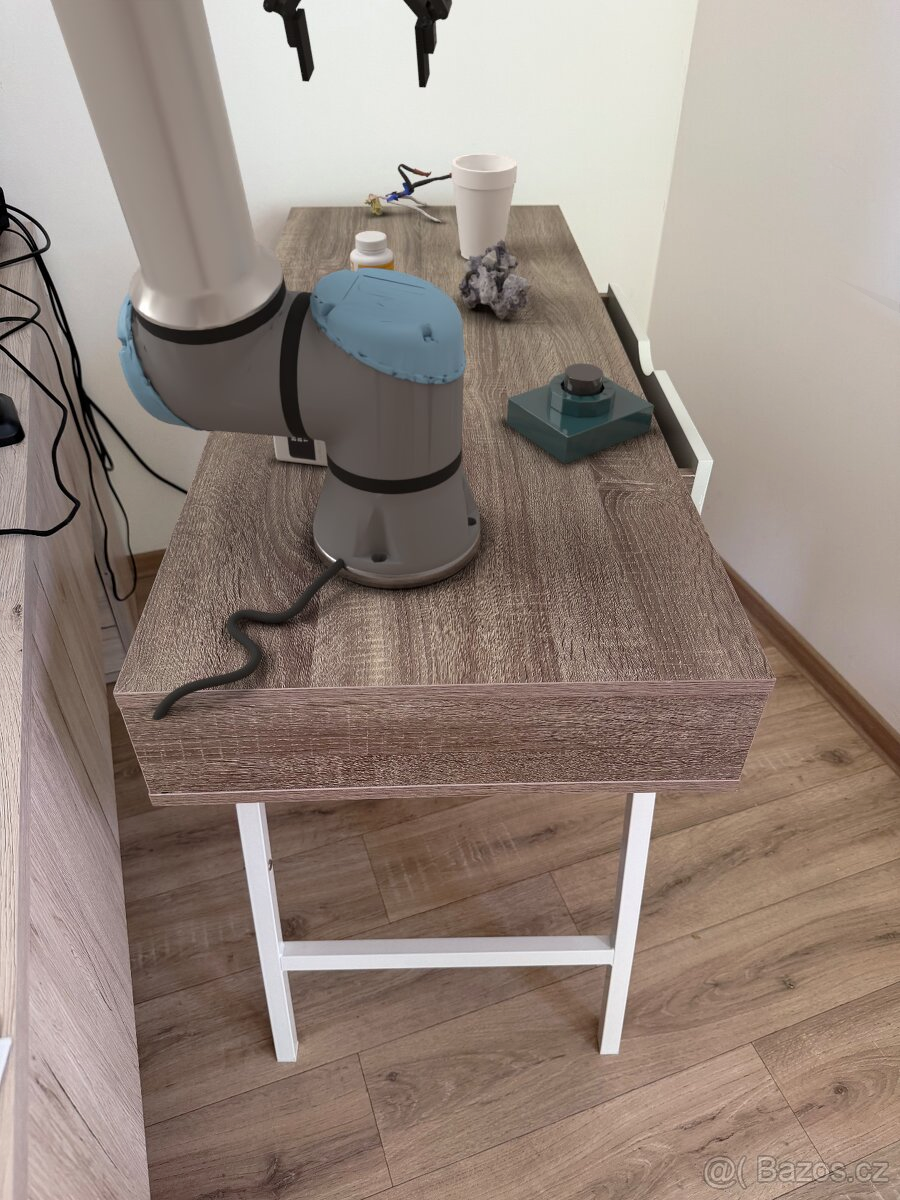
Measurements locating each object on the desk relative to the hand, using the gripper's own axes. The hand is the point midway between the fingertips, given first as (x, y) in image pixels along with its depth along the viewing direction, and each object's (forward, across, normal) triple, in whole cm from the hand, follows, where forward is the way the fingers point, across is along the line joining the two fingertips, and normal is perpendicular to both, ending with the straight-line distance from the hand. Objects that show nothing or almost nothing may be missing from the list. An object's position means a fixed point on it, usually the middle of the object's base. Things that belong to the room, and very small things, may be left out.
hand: (366, 78), depth 105 cm
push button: (+14, -29, +32) cm, 45 cm away
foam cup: (+34, -11, -14) cm, 39 cm away
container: (+15, -2, +42) cm, 44 cm away
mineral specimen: (+28, -15, +5) cm, 32 cm away
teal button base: (+18, -29, +33) cm, 47 cm away
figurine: (+40, +4, -29) cm, 49 cm away
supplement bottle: (+26, 0, +10) cm, 28 cm away
